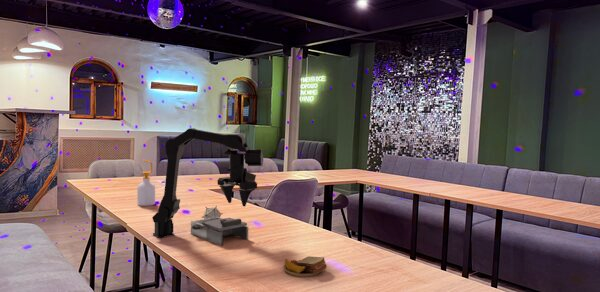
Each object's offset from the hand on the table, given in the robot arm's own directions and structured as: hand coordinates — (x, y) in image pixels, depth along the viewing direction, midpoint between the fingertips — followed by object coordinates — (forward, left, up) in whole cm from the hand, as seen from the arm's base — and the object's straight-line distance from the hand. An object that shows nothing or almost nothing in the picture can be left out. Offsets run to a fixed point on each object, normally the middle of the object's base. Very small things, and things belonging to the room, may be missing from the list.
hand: (236, 204), depth 167 cm
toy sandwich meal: (-4, -43, -14) cm, 46 cm away
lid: (-4, +3, -8) cm, 10 cm away
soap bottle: (+1, +85, -14) cm, 86 cm away
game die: (+5, +26, -14) cm, 30 cm away
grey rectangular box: (-4, +7, -14) cm, 16 cm away
